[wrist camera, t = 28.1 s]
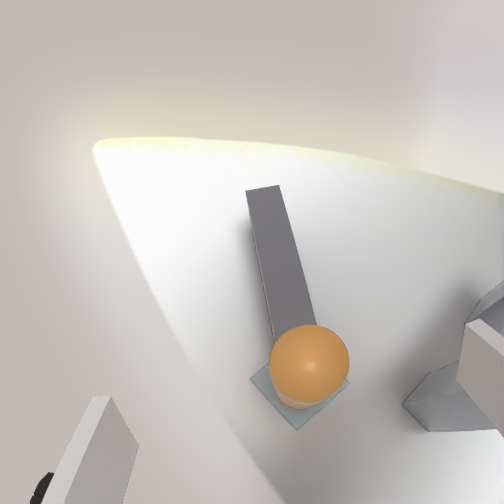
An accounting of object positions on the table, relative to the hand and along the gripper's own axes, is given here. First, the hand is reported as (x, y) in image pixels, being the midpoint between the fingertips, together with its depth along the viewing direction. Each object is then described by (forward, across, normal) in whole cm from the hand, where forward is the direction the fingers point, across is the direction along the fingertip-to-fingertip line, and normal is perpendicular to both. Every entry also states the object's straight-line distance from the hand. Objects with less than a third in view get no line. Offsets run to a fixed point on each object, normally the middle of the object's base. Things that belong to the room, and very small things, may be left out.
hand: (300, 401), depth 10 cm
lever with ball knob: (+18, +1, -5) cm, 19 cm away
